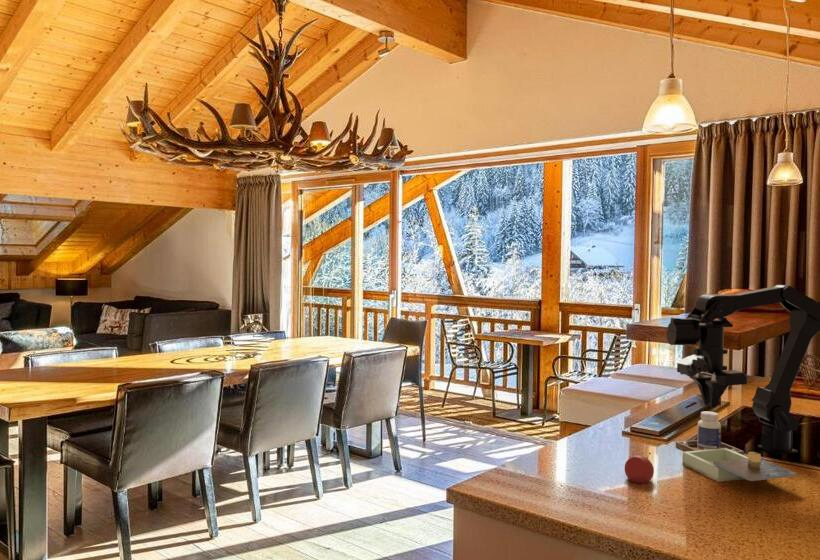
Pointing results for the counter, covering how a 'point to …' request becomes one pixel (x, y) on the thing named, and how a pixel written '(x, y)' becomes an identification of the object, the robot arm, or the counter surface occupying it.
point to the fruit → (639, 469)
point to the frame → (694, 442)
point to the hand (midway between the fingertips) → (709, 406)
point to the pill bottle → (709, 431)
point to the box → (705, 466)
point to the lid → (754, 468)
